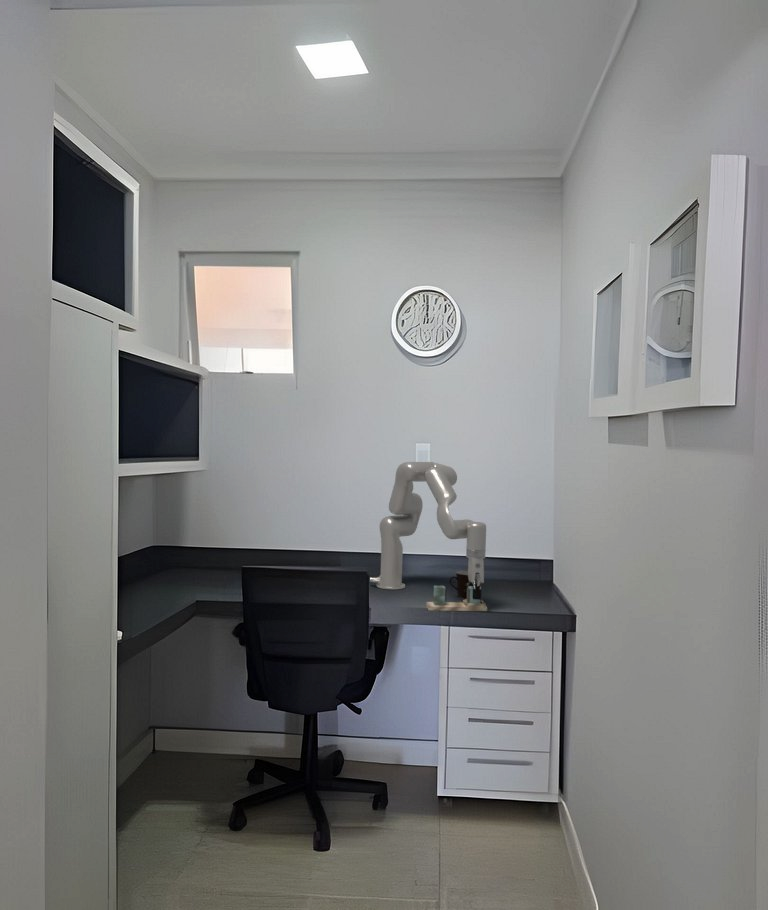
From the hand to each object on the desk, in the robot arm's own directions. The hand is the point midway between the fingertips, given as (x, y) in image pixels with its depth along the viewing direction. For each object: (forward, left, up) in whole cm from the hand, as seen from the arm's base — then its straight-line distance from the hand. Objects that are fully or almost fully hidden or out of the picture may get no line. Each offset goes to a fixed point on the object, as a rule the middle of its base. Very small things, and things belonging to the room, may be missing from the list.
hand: (474, 596), depth 318 cm
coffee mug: (-1, +23, -5) cm, 24 cm away
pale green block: (0, 0, -3) cm, 3 cm away
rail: (-7, 0, -5) cm, 8 cm away
